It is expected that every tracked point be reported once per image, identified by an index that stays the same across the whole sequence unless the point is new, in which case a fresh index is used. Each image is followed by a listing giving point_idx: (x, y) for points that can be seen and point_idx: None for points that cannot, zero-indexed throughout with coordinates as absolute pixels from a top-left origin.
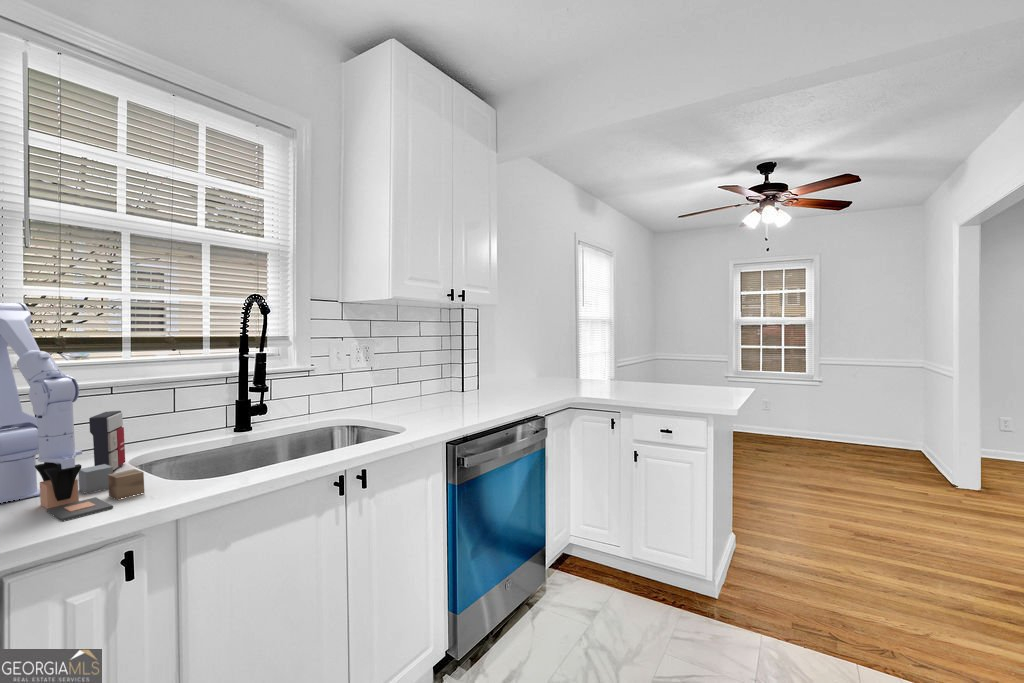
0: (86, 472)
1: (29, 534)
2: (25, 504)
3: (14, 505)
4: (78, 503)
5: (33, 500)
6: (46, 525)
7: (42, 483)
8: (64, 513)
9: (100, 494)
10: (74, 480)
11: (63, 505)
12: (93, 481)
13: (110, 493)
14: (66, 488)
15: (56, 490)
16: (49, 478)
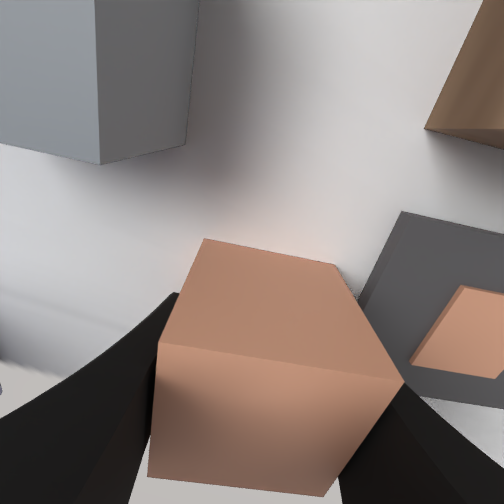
0: (99, 151)
1: (494, 460)
2: (100, 351)
3: (73, 368)
4: (412, 309)
5: (50, 314)
6: (479, 425)
7: (217, 484)
8: (478, 388)
9: (309, 120)
10: (453, 428)
11: None
12: (163, 82)
13: (475, 137)
14: None
15: None
16: (137, 456)
